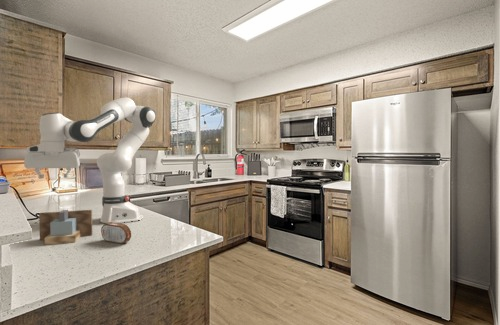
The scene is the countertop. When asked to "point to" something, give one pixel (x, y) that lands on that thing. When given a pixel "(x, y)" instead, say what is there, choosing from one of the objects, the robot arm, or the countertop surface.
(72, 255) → the countertop surface
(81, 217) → the brown wooden piece
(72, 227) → the blue block with handle
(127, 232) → the tin
